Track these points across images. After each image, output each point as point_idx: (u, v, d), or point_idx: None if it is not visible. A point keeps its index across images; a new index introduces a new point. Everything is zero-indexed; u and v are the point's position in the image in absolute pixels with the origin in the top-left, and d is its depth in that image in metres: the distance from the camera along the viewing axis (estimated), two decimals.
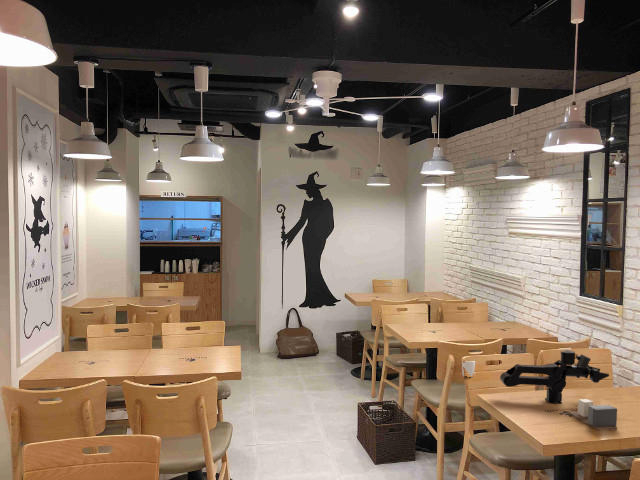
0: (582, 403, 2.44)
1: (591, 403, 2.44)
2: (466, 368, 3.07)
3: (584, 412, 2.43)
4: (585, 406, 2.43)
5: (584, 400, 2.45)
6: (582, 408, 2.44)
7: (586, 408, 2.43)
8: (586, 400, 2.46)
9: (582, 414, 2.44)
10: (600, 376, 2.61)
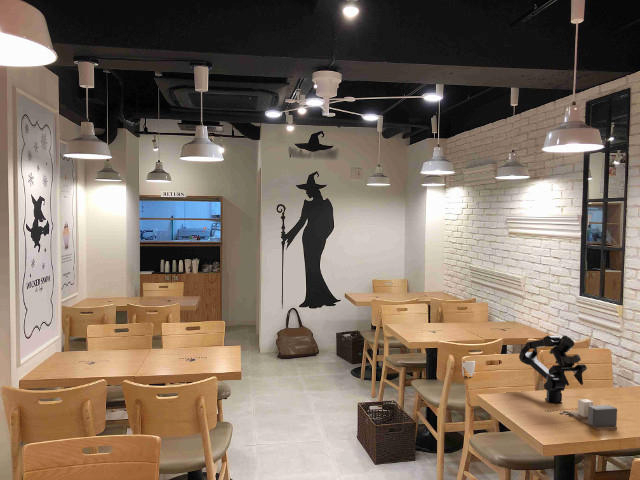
0: (582, 403, 2.44)
1: (591, 403, 2.44)
2: (466, 368, 3.07)
3: (584, 412, 2.43)
4: (585, 406, 2.43)
5: (584, 400, 2.45)
6: (582, 408, 2.44)
7: (586, 408, 2.43)
8: (586, 400, 2.46)
9: (582, 414, 2.44)
10: (561, 377, 2.55)
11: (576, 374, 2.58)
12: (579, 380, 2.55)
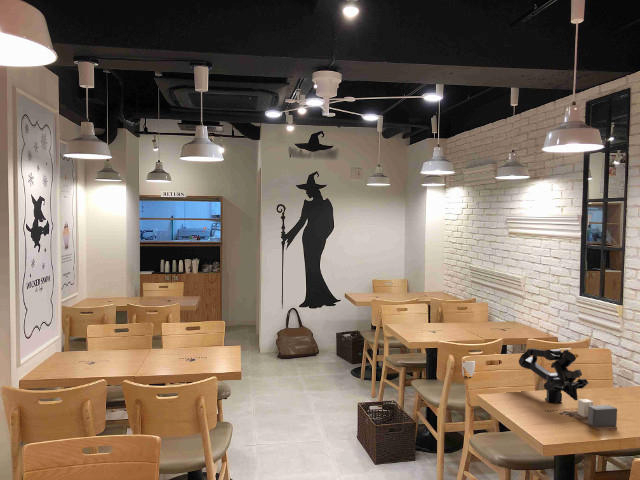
0: (582, 403, 2.44)
1: (591, 403, 2.44)
2: (466, 368, 3.07)
3: (584, 412, 2.43)
4: (585, 406, 2.43)
5: (584, 400, 2.45)
6: (582, 408, 2.44)
7: (586, 408, 2.43)
8: (586, 400, 2.46)
9: (582, 414, 2.44)
10: (568, 391, 2.55)
11: None
12: None
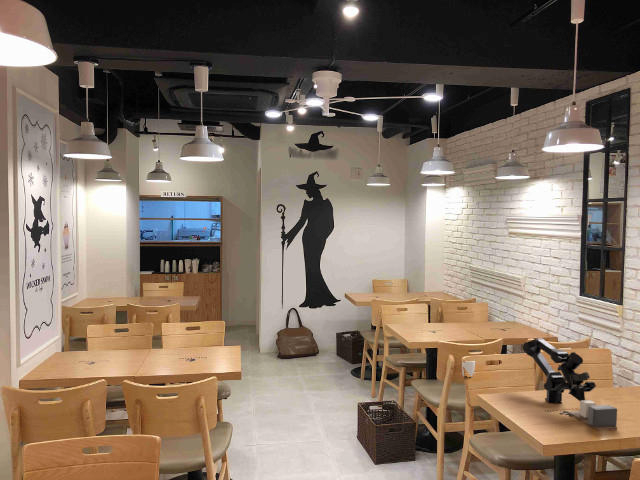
0: (584, 404, 2.43)
1: (593, 404, 2.42)
2: (466, 368, 3.07)
3: (586, 413, 2.42)
4: (587, 407, 2.42)
5: (586, 401, 2.44)
6: (584, 409, 2.42)
7: None
8: (588, 401, 2.44)
9: (584, 415, 2.42)
10: (576, 394, 2.50)
11: None
12: None
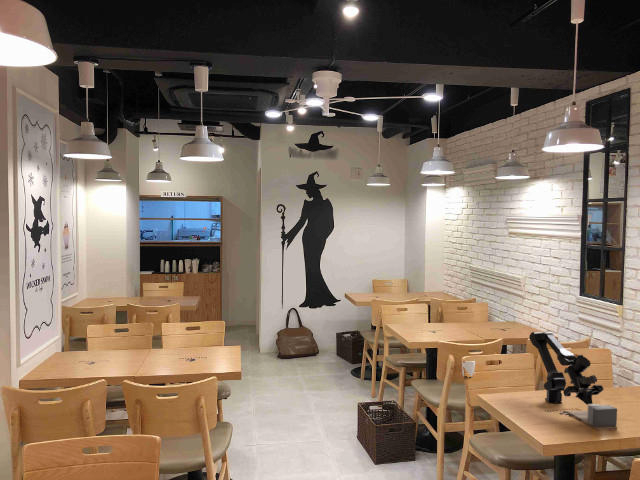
0: None
1: None
2: (466, 368, 3.07)
3: None
4: None
5: (594, 405, 2.39)
6: None
7: None
8: None
9: None
10: (583, 398, 2.45)
11: None
12: None
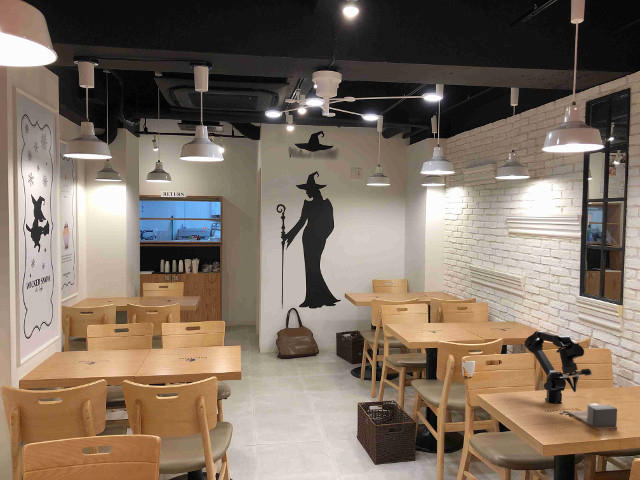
0: None
1: None
2: (466, 368, 3.07)
3: None
4: None
5: (593, 404, 2.40)
6: None
7: None
8: (595, 404, 2.40)
9: None
10: None
11: None
12: (574, 386, 2.54)
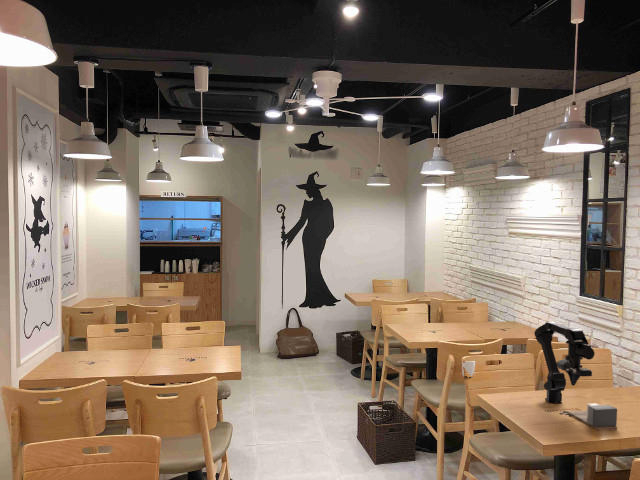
0: None
1: None
2: (466, 368, 3.07)
3: None
4: None
5: (593, 404, 2.40)
6: None
7: None
8: (595, 404, 2.40)
9: None
10: None
11: None
12: None
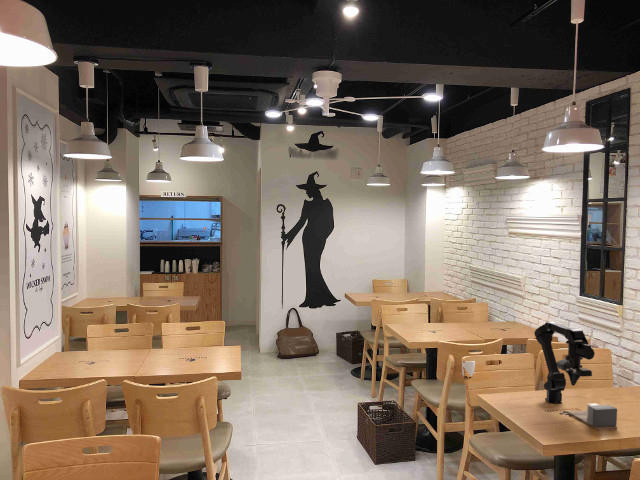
0: None
1: None
2: (466, 368, 3.07)
3: None
4: None
5: (593, 404, 2.40)
6: None
7: None
8: (595, 404, 2.40)
9: None
10: None
11: None
12: None
